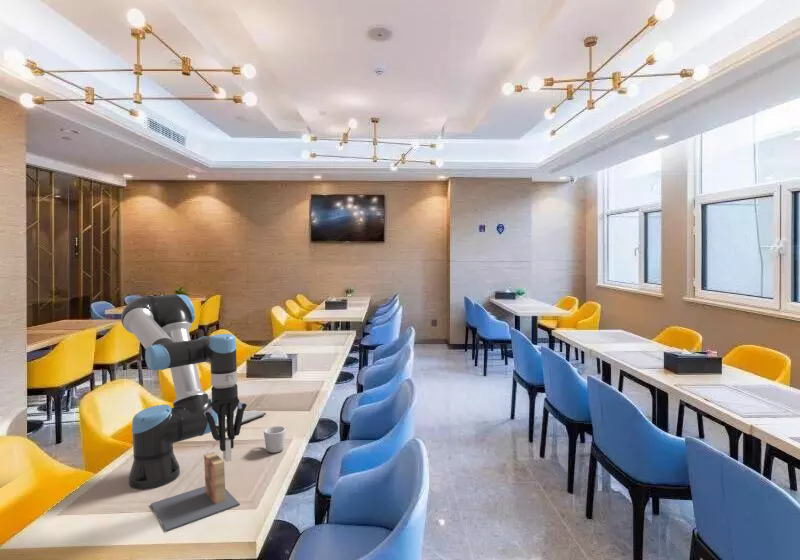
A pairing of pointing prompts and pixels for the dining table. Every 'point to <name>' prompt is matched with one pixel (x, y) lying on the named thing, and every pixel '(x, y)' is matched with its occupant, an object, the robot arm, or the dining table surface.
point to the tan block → (214, 477)
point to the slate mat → (190, 508)
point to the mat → (246, 416)
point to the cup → (274, 439)
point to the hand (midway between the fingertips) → (227, 459)
